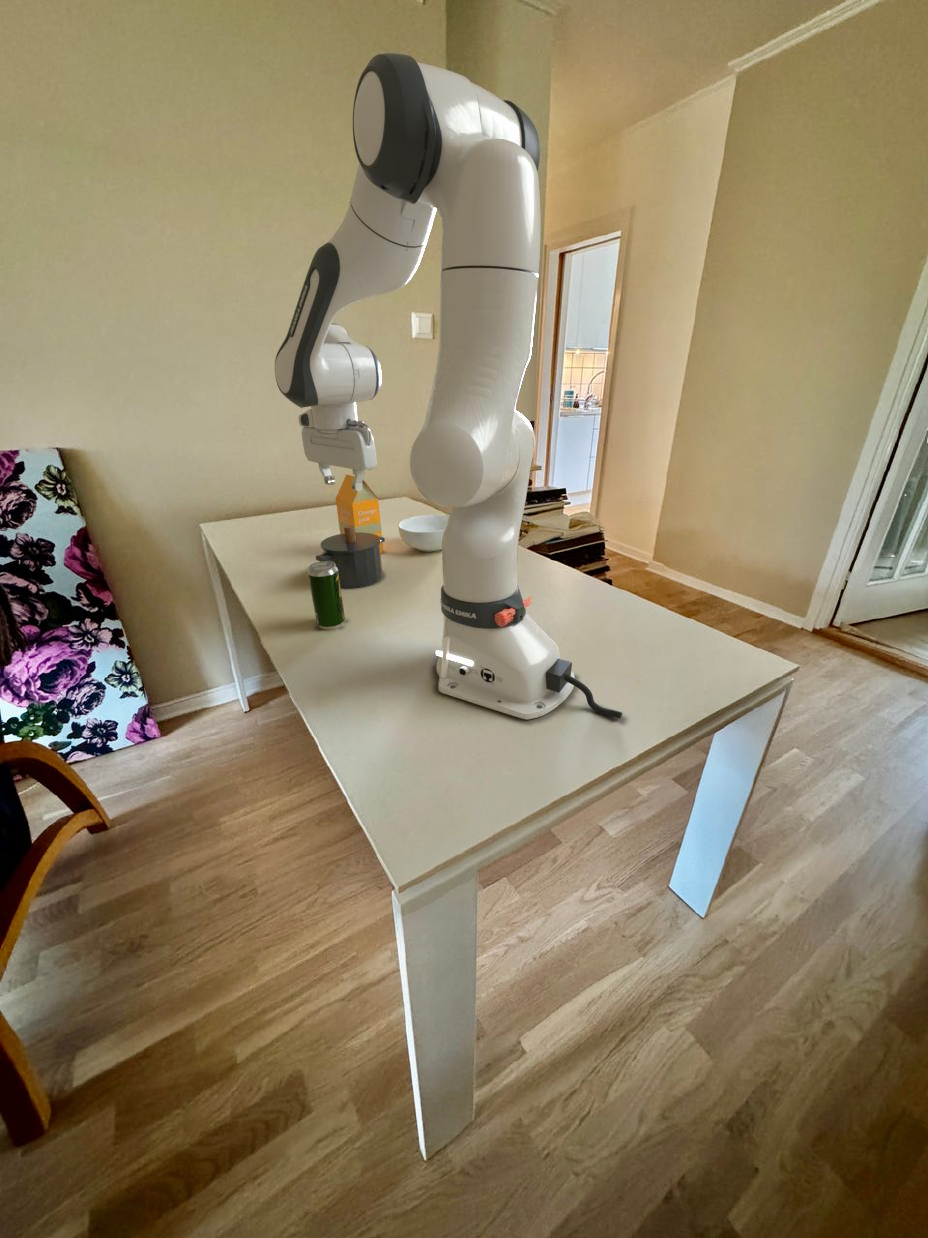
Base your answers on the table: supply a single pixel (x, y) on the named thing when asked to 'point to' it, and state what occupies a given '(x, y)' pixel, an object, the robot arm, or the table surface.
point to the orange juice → (358, 509)
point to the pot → (356, 566)
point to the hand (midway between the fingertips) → (343, 487)
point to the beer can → (326, 595)
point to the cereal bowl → (423, 531)
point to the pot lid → (350, 541)
